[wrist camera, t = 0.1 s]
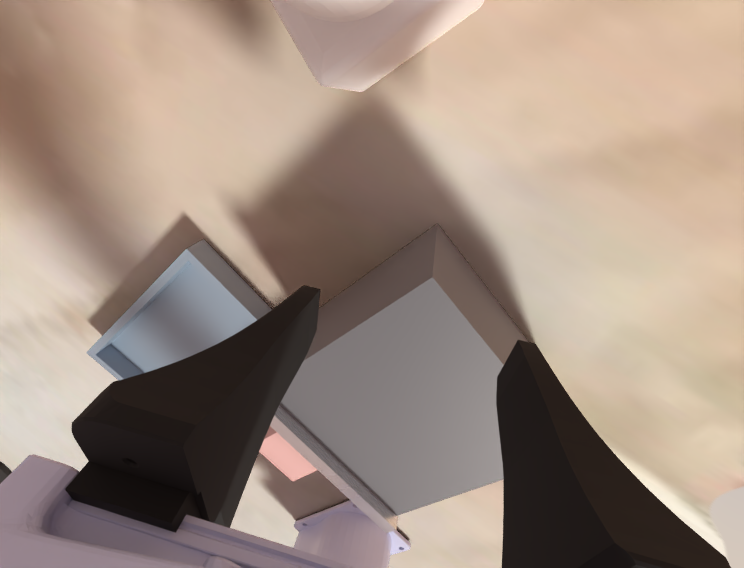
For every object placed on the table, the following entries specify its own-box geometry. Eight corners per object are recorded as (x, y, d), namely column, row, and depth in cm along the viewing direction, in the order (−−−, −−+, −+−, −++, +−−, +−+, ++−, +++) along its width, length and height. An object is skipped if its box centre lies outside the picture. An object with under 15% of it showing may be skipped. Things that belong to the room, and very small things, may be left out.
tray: (185, 409, 34) (171, 425, 32) (105, 339, 32) (86, 352, 30) (294, 332, 28) (284, 347, 26) (203, 239, 26) (186, 248, 24)
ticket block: (318, 417, 31) (292, 481, 26) (286, 386, 30) (252, 445, 25) (411, 367, 27) (403, 431, 22) (377, 329, 26) (359, 386, 21)
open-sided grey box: (401, 423, 30) (386, 533, 22) (302, 318, 27) (244, 402, 19) (541, 357, 25) (583, 470, 17) (436, 221, 22) (430, 283, 14)
